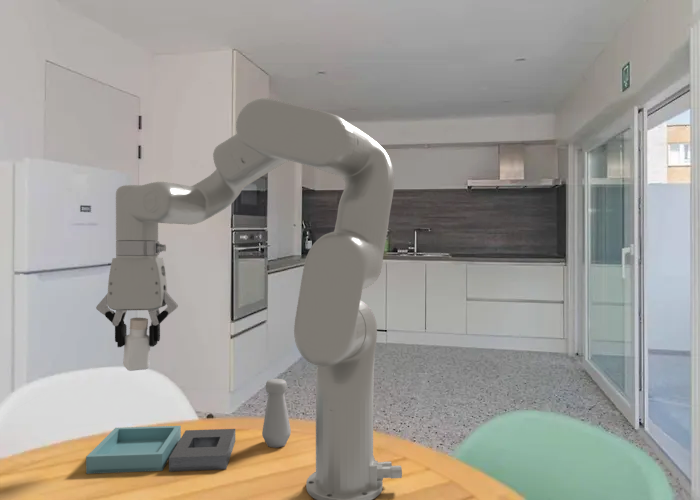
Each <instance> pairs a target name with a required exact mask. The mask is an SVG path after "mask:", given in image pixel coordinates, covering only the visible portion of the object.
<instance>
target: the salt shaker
mask: <svg viewBox="0 0 700 500" xmlns="http://www.w3.org/2000/svg"><path fill="white" fill-rule="evenodd" d="M287 387H288V384H287V381H286V380H285V379H283V378H271V379H268V380H267V381H266V383H265V392H266V393H268V396H267V400H266V406H265V412H264V414H265V415H264V418H263V419H264V420H263V425H262V431H261V432H262V438H263V439H264V441H265V444H266V445H267V447H269V448H277V449H278V448H281V447H285V446H286V444H287V442H288V440H289V439H290V436H291V425H290V424H291V423H290V418H289V413H288V407H287V401H286V398H285V392H287Z"/></svg>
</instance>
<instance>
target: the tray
mask: <svg viewBox="0 0 700 500" xmlns="http://www.w3.org/2000/svg"><path fill="white" fill-rule="evenodd" d="M181 430H182V426H181V425H161V426H158V425H157V426H134V427H133V426H130V427H128V426H127V427H125V426H124V427H115V428H113V430H112V431H110V432H109V433H108V434H107V436H105V438H104V439H102V440H101V441H100V442H99V444H98V445H96V446H95V448H93V449H92V450H91V451H90V452H89V453H88V455H86V457H85V460H86V461H85V466H86V467H85V468H86V469H85V471H86V473H85V474H87V475H88V474H89V475H90V474H111V473H112V474H113V473H135V472H136V473H137V472H138V473H141V472H161V471H163V470H164V468H165V467H166V465H167V464H168V463H169V457H170V455H171V454H172V452H173V450H174V449H175V447H176V445H177V444H178V442H179V440H180V439H181V437H182V434H181V433H182V431H181Z"/></svg>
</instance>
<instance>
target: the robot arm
mask: <svg viewBox="0 0 700 500" xmlns="http://www.w3.org/2000/svg"><path fill="white" fill-rule="evenodd" d="M235 130H236V133H235V134H234V135H233V136H231V137H229V138H228V139H226V140H225V141H223V142H221V143H219V144H218V145H217V146H216V147H215V148H214V150H213V153H212V157H213V163H214V166H215V168H216V169H215V170H214V171H212V173H211V174H210V175H208V176H207V177H205V178H204V179H202V180H201V181H199V182H197V183H195V184H193V185H190V186H189V185H185V184H178V183H174V182H168V181H167V182H166V181H155V182H150V183H149V182H148V183H146V184H142V185H141V184H140V185H139V184H125V185H121V186H119V187H118V188H117V189H116V192H115V257H112V259H111V263H110V268H109V274H108V283H107V294H106V295H105V296H104V297H103V298H102V299H101V300H100V301H99V303H98V304H97V305H96V306H95V308H96V310H97V311H99V312H100V314H102V315H103V316H105V318H107V320H109V322H111V324H112V326H114V341H115V343H117V348H122V347H124V345H125V336H127V327H128V326H127V324H126V323H125V318H126V316H127V312H128V311H148V314H149V318H150V321H151V322H150V323H151V324H150V326H148V333H149V334H148V335H149V346H150V348H151V347H156V345H157V344H158V342H160V340H161V323H163V322H164V320H166V318H167V317H168V316H169V315H170V314H172V313H173V312H174V311H175V310H177V309H178V307H179V305H178V303H177V302H176V301H175V300H174V299H173V298H172V296H171V295H170V294H169V293H168V285H167V284H168V283H167V273H166V266H165V262H164V258H163V257H159V255H160V253H162V252H166V251H167V245H166V244H162V243H160V241H159V224H170V225H173V224H178V225H188V226H189V225H197V224H199V223H202V222H204V221H206V220H208V219H210V218H212V217H214V216H215V215H217V214H218V213H220V212H222V211H224V210H225V209H226V208H228V207H230V206H231V205H232V204H233V203H234V202H235V200H236V199H237V198H239V196H240V194H241V193H242V190H243V189H244V188H245V187H247V186H249V185H251V184H252V183H253V182H256V181H257V180H258V179H260V178H261V177H263V176H265V175H266V174H268V173H270V172H272V171H274V170H276V169H277V168H279V167H281V166H283V165H284V164H286V163H287V162H289V161H290V162H292V163H298V164H301V165H303V166H307V167H311V168H314V169H316V170H319V171H323V172H325V173H328V174H331V175H335V176H338V177H340V178H341V179H342V180H344V188H343V191H342V194H341V197H340V200H339V203H338V207H337V213H336V214H337V215H336V216H337V217H336V221H335V227H334V230H333V231H331V232H328V233H326V234H323V235H321V236H320V237H319V238H318V239H316V241H315V242H314V243H313V244H312V246H311V247H310V249H309V250H308V253H307V255H306V257H305V260H304V264H303V268H302V276H301V279H300V280H301V281H300V288H299V294H298V299H297V300H298V301H297V305H296V306H297V307H296V310H295V311H296V312H295V317H294V325H293V326H294V327H293V329H294V330H293V331H294V332H293V333H294V343H295V345H296V348H297V351H298V352H299V354H300V355H301V357H302V358H303V359H304V360H306V361H307V362H308V363H309V364H312V365H313V366H316V367H317V368H316V375H315V376H316V377H315V471H314V472H313V473H312V474H310V475H309V476H308V477H307V479H306V484H305V485H306V486H305V487H306V491H307V493H308V495H309V497H311V498H313V499H314V500H374V499H376V498H377V497H378V496H380V494H381V493H382V492H383V487H384V486H383V482H384V481H383V480H384V479H402V477H403V470H402V469H403V468H402V466H401V465H392V464H393V463H392V461H390V460H389V461H379V462H378V460H376V459H375V456H374V382H375V381H374V379H375V377H374V374H375V373H374V372H375V371H374V370H375V357H376V356H375V355H376V348H377V339H378V338H377V337H378V336H377V335H378V325H377V321H376V317H375V314H374V312H373V310H372V309H371V307H370V306H369V304H367V303H365V302H364V301H363V300H361V299H362V293H363V290H364V289H367V288H369V287H371V286H372V285H374V284H375V283H376V281H377V280H378V278H379V277H380V274H381V273H382V267H383V261H384V256H385V255H384V254H385V248H386V243H387V242H386V241H387V236H388V235H387V234H388V230H389V222H390V214H391V209H392V204H393V203H392V201H393V198H394V189H395V170H394V165H393V164H392V161H391V158H390V156H389V155H388V153H387V151H386V150H385V149H384V148H383V146H382V145H380V144H379V143H378V142H377V140H375V139H373V138H372V137H371V136H369V135H368V134H367V133H366V132H364V131H362V130H361V129H359V128H358V127H356V126H355V125H353V124H351V123H350V122H348V121H347V120H345V119H343V118H342V117H340V115H336V114H333V113H331V112H327V111H325V110H319V109H315V108H310V107H307V106H302V105H297V104H293V103H289V102H284V101H282V100H277V99H273V98H268V97H267V98H266V97H265V98H258V99H255V100H252V101H250V102H248V103H247V104H246V105H245V106H244V107H242V109H241V110H240V112H239V114H238V115H237V118H236V123H235ZM166 305H167V306H166ZM165 306H166V308H165V309H164V310H162V311H161V312H160V309H161V308H163V307H165Z"/></svg>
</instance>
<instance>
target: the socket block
mask: <svg viewBox="0 0 700 500" xmlns="http://www.w3.org/2000/svg"><path fill="white" fill-rule="evenodd" d="M235 442H236V428H220V429H219V428H216V429H213V428H212V429H191V430H190V429H187V430H185V431H184V432H183V434H182V435H181V439H180V440H179V442H178V444H177V445H176V447H175V449H174V450H173V452H172V454H171V455H170V457H169V460H168V472H172V473H173V472H189V471H192V472H193V471H196V472H198V471H214V470H215V471H217V470H227V467H228V465H229V462H230V458H231V456H232V453H233V449H234V446H235Z"/></svg>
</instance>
